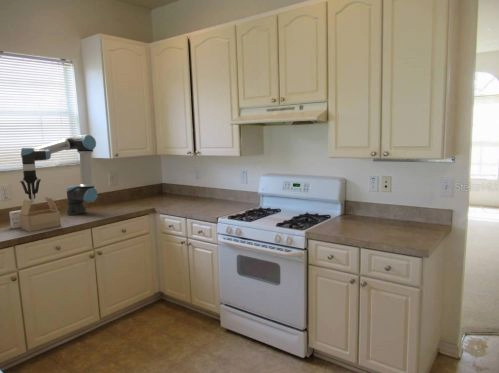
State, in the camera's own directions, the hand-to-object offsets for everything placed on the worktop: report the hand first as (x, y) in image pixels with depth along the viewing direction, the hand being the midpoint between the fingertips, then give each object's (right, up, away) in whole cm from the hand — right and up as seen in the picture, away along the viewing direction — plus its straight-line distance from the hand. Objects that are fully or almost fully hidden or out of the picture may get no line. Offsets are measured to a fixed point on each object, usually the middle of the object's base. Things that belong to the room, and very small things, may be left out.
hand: (32, 203), depth 268 cm
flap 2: (+9, -5, +12) cm, 16 cm away
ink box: (-14, -17, +7) cm, 24 cm away
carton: (+3, -17, +6) cm, 18 cm away
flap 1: (-4, -8, -4) cm, 10 cm away
